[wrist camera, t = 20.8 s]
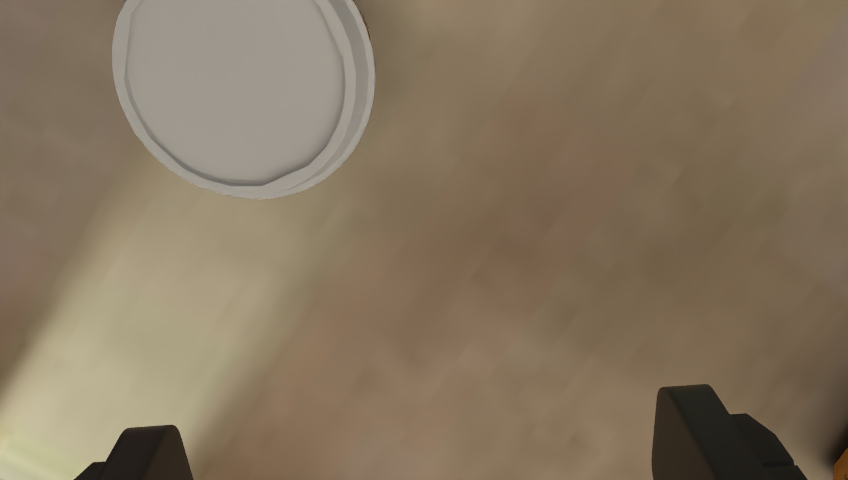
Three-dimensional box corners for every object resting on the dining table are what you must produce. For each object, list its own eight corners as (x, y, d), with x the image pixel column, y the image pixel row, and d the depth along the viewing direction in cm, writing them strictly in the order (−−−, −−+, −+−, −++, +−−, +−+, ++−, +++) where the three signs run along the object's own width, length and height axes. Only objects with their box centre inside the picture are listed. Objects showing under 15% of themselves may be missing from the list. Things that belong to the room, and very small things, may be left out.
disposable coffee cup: (301, -100, 32) (211, -143, 21) (441, 48, 34) (427, 80, 23) (180, 46, 35) (44, 76, 24) (316, 175, 37) (250, 258, 26)
